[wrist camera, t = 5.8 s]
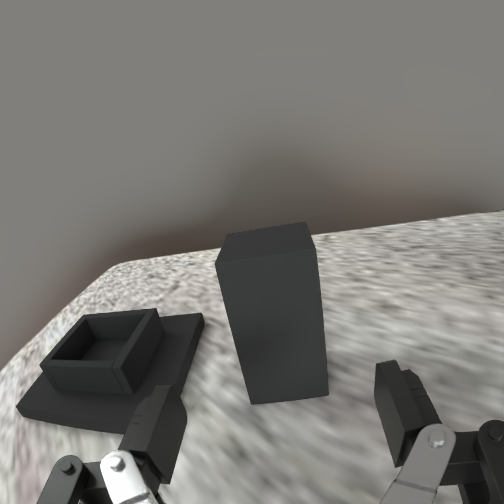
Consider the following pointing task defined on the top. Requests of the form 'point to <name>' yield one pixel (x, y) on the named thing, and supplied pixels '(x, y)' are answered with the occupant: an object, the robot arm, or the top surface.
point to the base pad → (111, 368)
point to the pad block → (275, 312)
